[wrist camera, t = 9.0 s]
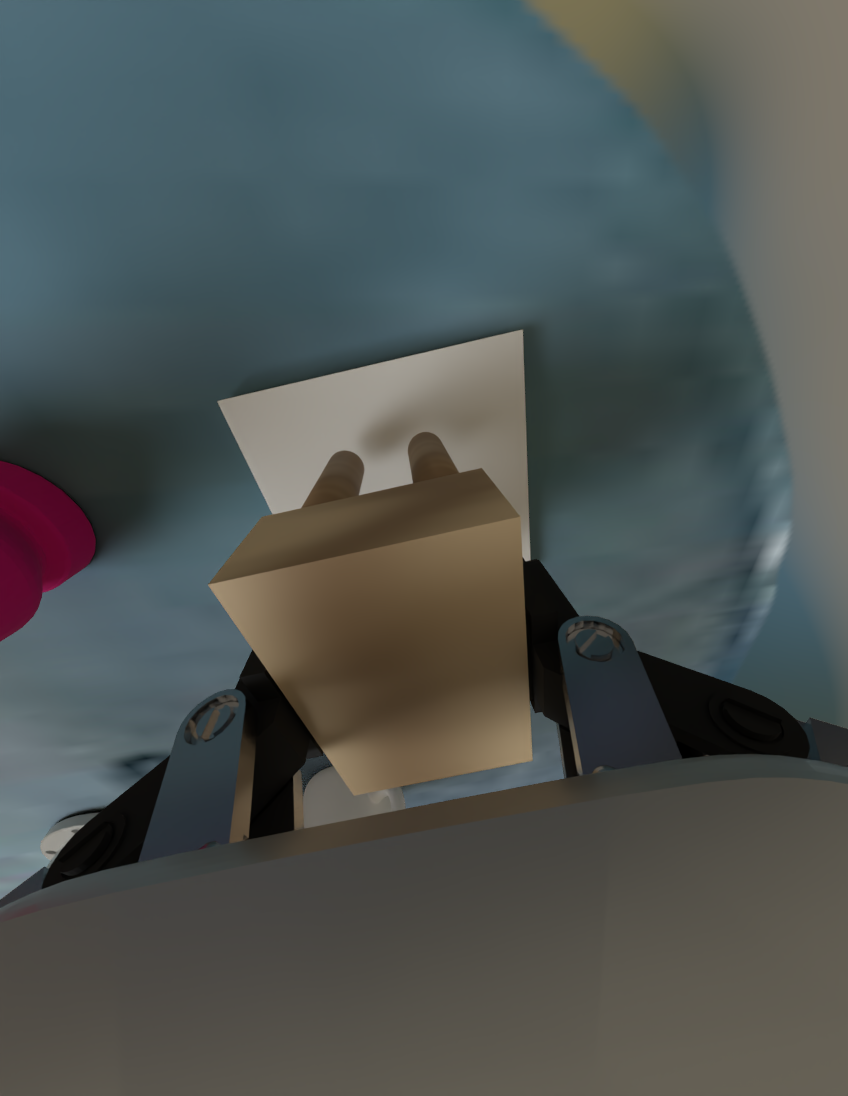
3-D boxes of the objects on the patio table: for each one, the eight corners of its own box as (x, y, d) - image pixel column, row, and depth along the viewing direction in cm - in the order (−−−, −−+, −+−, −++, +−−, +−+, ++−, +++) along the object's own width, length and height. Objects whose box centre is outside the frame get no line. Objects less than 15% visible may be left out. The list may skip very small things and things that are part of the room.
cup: (289, 792, 31) (248, 965, 22) (361, 730, 27) (346, 912, 18) (362, 811, 34) (352, 968, 25) (437, 758, 30) (456, 924, 21)
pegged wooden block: (444, 420, 12) (520, 516, 5) (468, 577, 16) (532, 760, 9) (315, 449, 12) (207, 584, 5) (370, 598, 16) (354, 795, 9)
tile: (523, 567, 19) (531, 579, 18) (329, 608, 20) (325, 622, 19) (512, 331, 13) (522, 329, 12) (230, 397, 14) (217, 401, 13)
